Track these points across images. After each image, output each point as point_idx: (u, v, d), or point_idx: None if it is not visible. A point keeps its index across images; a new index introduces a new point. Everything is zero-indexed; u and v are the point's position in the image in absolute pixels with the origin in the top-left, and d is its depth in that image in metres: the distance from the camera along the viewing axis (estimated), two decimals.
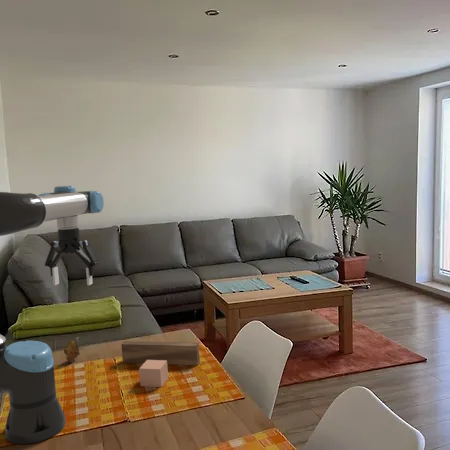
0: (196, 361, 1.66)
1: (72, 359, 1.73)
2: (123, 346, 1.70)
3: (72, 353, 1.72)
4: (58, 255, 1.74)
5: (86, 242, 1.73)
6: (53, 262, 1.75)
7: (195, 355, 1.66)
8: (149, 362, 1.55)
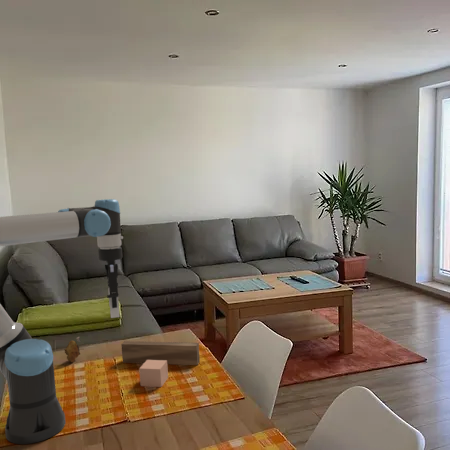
0: (196, 361, 1.66)
1: (73, 359, 1.73)
2: (123, 346, 1.70)
3: (73, 353, 1.73)
4: None
5: (111, 268, 1.46)
6: (108, 281, 1.59)
7: (195, 355, 1.66)
8: (149, 362, 1.55)
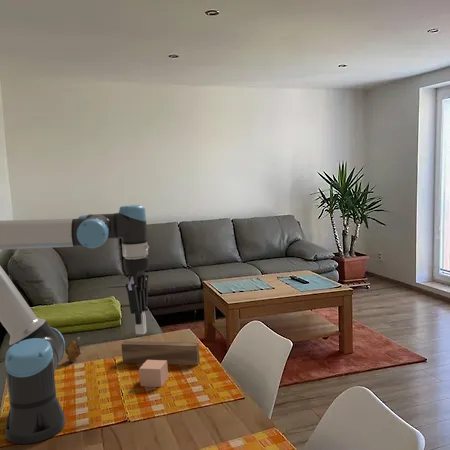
0: (196, 361, 1.66)
1: (73, 359, 1.73)
2: (123, 346, 1.70)
3: (73, 352, 1.73)
4: None
5: (129, 288, 1.36)
6: None
7: (195, 355, 1.66)
8: (149, 362, 1.55)
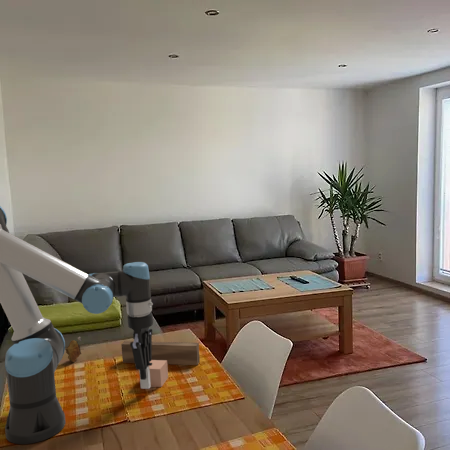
0: (196, 361, 1.66)
1: (74, 359, 1.73)
2: (123, 346, 1.70)
3: (74, 352, 1.73)
4: None
5: (134, 346, 1.38)
6: None
7: (195, 355, 1.66)
8: None
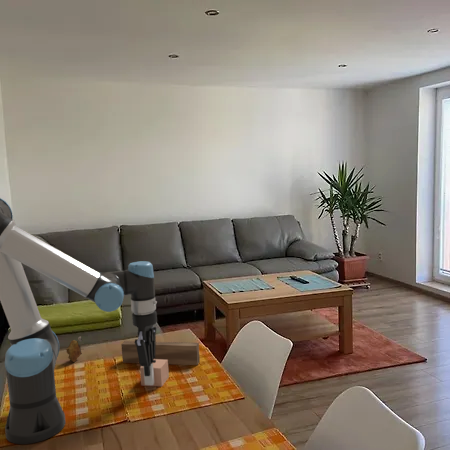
0: (196, 361, 1.66)
1: (74, 358, 1.73)
2: (123, 346, 1.70)
3: (74, 352, 1.73)
4: None
5: (138, 343, 1.41)
6: None
7: (195, 355, 1.66)
8: None
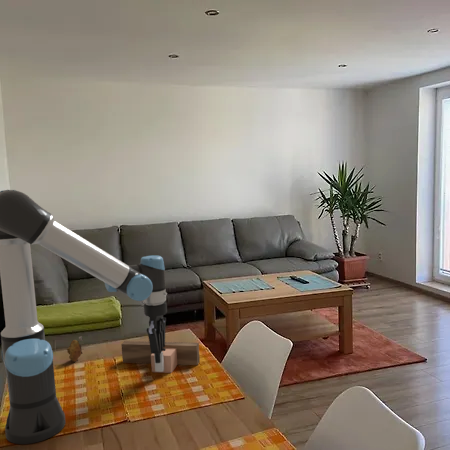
0: (196, 361, 1.66)
1: (75, 358, 1.73)
2: (123, 346, 1.70)
3: (75, 352, 1.73)
4: None
5: (150, 332, 1.51)
6: None
7: (195, 355, 1.66)
8: None
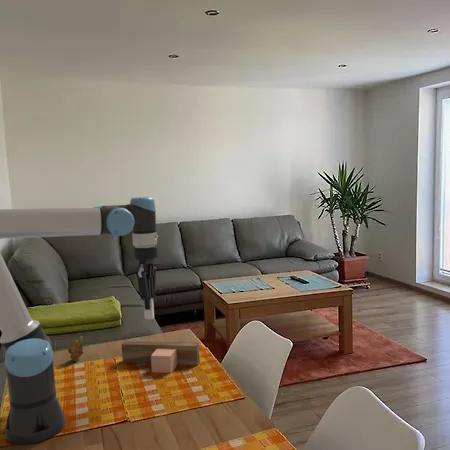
0: (196, 361, 1.66)
1: (76, 358, 1.74)
2: (123, 346, 1.70)
3: (76, 352, 1.73)
4: None
5: (139, 275, 1.44)
6: None
7: (195, 355, 1.66)
8: (160, 350, 1.66)
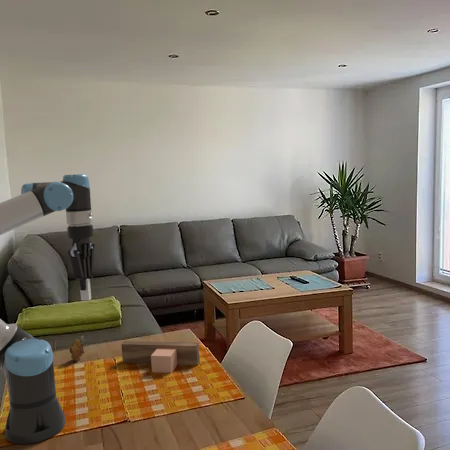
0: (196, 361, 1.66)
1: (77, 358, 1.74)
2: (123, 346, 1.70)
3: (77, 351, 1.74)
4: None
5: (72, 254, 1.40)
6: None
7: (195, 355, 1.66)
8: (160, 350, 1.66)
